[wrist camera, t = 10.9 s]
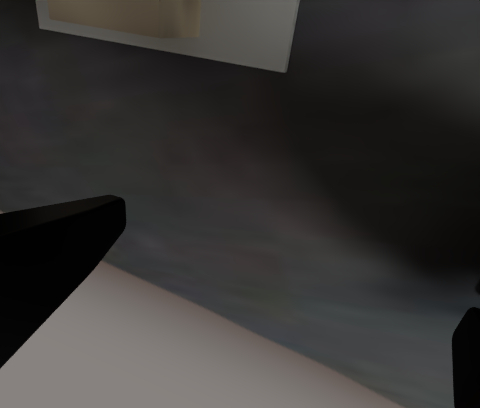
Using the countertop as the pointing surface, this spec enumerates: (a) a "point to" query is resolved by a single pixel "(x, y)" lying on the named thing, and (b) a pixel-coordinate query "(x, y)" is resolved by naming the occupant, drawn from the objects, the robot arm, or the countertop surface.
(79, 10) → the beige and brown block
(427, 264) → the countertop surface
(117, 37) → the grey mat
